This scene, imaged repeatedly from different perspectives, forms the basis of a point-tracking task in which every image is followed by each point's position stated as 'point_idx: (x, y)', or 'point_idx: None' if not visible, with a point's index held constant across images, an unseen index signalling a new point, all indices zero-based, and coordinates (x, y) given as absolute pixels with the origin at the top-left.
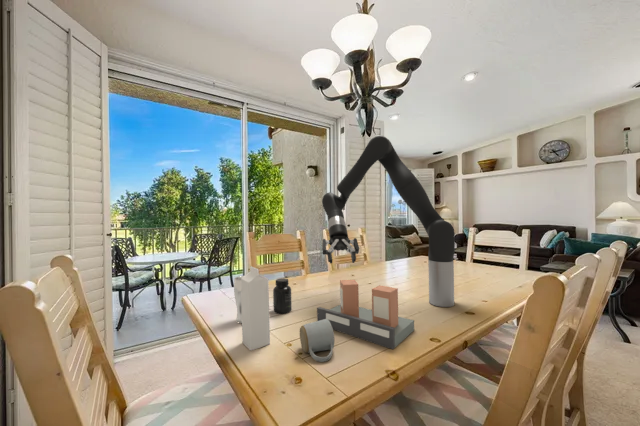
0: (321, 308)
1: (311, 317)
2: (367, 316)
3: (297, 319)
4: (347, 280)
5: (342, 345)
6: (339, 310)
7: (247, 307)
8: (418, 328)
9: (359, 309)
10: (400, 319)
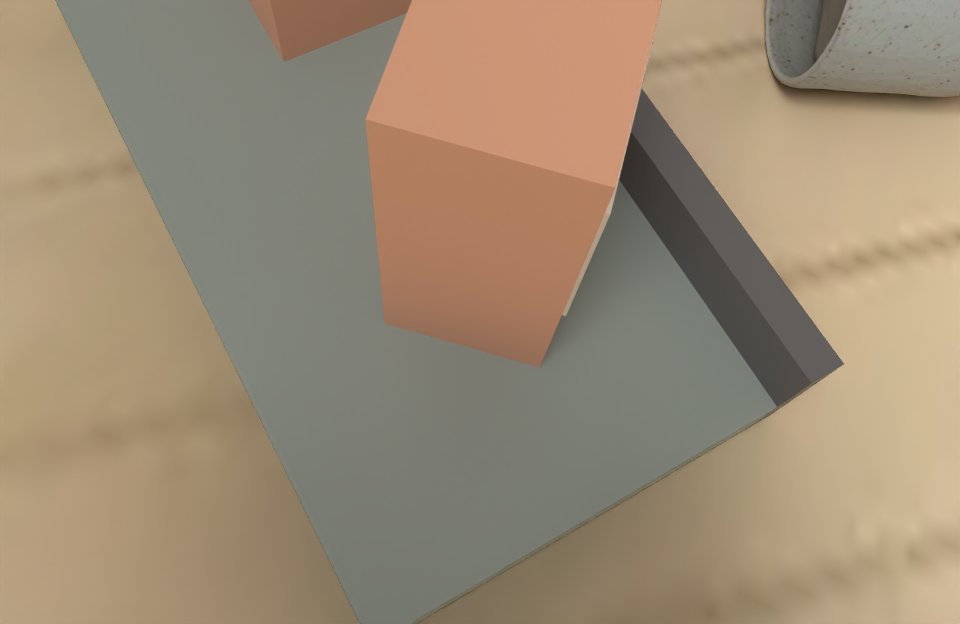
0: (798, 326)
1: (793, 610)
2: (343, 165)
3: (949, 619)
4: (504, 120)
5: (681, 34)
6: (533, 415)
7: None
8: (9, 14)
9: (309, 351)
10: (118, 3)
